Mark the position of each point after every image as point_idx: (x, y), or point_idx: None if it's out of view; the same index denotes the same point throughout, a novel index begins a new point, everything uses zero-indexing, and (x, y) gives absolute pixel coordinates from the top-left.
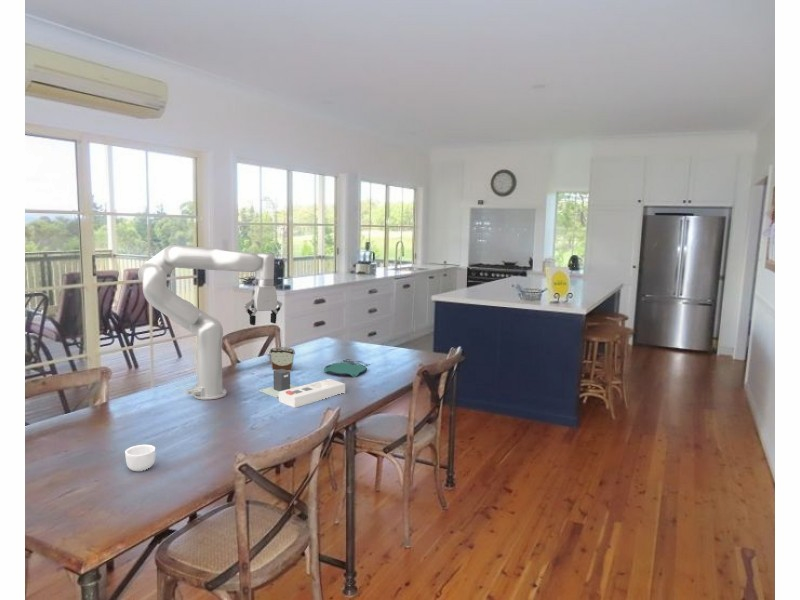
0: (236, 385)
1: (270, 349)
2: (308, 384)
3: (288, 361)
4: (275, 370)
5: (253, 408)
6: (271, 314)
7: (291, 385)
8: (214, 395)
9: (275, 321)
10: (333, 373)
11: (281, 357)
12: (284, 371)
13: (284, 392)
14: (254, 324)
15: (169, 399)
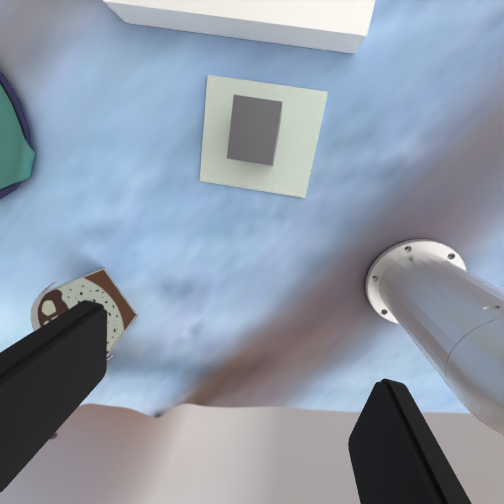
0: (301, 289)
1: None
2: (218, 9)
3: (89, 288)
4: (264, 161)
5: (459, 69)
6: (5, 468)
7: (206, 149)
8: (436, 253)
9: (74, 311)
10: (24, 117)
11: None
12: (250, 115)
13: (362, 3)
14: (402, 385)
15: None
